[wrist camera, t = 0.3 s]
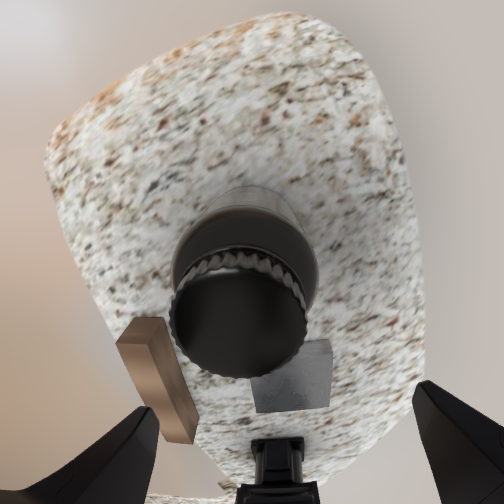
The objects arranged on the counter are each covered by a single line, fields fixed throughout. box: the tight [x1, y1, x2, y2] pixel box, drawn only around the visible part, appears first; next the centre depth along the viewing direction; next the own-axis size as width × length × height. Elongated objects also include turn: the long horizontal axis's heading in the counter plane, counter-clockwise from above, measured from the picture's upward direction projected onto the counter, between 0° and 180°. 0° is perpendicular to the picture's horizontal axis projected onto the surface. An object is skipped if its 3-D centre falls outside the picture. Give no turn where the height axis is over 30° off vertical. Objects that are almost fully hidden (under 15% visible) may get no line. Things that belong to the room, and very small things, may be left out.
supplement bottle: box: [169, 186, 319, 379], centre depth 15 cm, size 7×7×12 cm
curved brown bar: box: [115, 317, 199, 444], centre depth 24 cm, size 14×3×4 cm, turn 7°
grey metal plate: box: [250, 339, 333, 413], centre depth 24 cm, size 7×7×2 cm
